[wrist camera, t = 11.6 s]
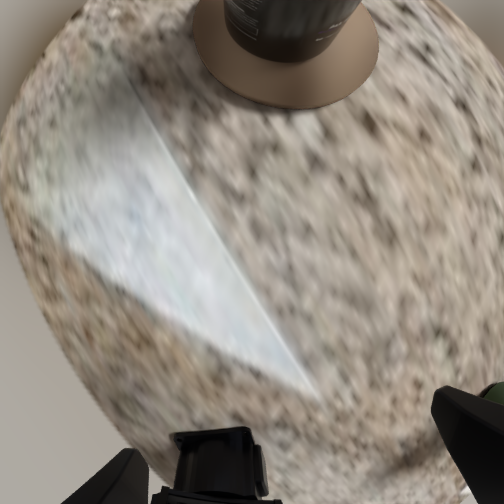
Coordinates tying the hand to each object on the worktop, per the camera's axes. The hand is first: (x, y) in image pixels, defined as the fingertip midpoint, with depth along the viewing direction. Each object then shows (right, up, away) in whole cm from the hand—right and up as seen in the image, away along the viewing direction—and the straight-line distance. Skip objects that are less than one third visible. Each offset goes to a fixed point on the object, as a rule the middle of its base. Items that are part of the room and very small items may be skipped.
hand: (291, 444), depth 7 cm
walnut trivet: (+1, +20, +8) cm, 21 cm away
